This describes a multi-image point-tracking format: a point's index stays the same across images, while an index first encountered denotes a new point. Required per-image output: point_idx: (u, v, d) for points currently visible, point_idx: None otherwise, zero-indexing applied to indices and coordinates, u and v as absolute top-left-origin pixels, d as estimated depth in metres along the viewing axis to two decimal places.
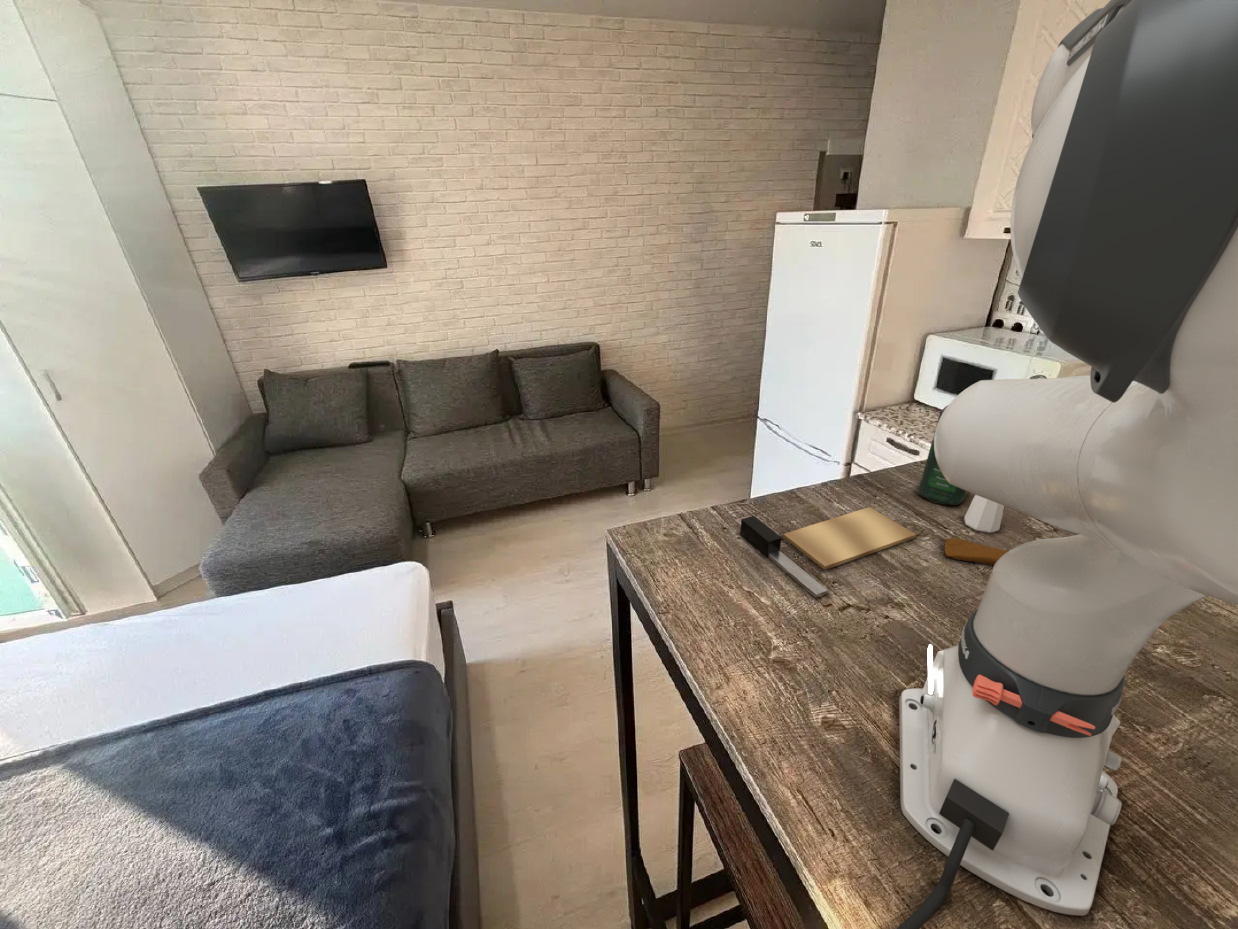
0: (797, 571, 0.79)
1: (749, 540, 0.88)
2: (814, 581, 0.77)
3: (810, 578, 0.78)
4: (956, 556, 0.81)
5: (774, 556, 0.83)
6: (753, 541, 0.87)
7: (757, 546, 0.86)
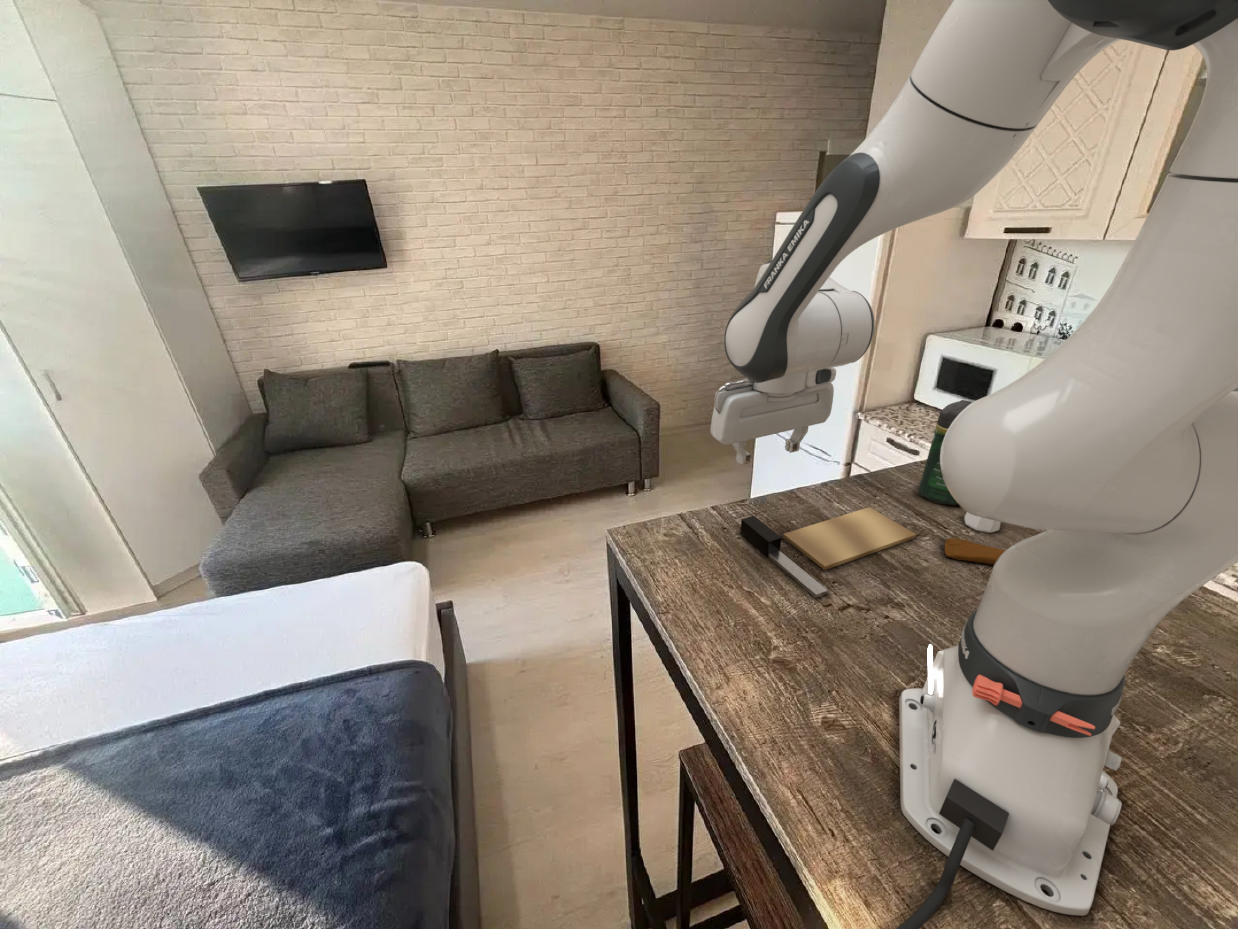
0: (797, 571, 0.79)
1: (749, 540, 0.88)
2: (814, 581, 0.77)
3: (810, 578, 0.78)
4: (956, 556, 0.81)
5: (774, 556, 0.83)
6: (753, 541, 0.87)
7: (757, 546, 0.86)
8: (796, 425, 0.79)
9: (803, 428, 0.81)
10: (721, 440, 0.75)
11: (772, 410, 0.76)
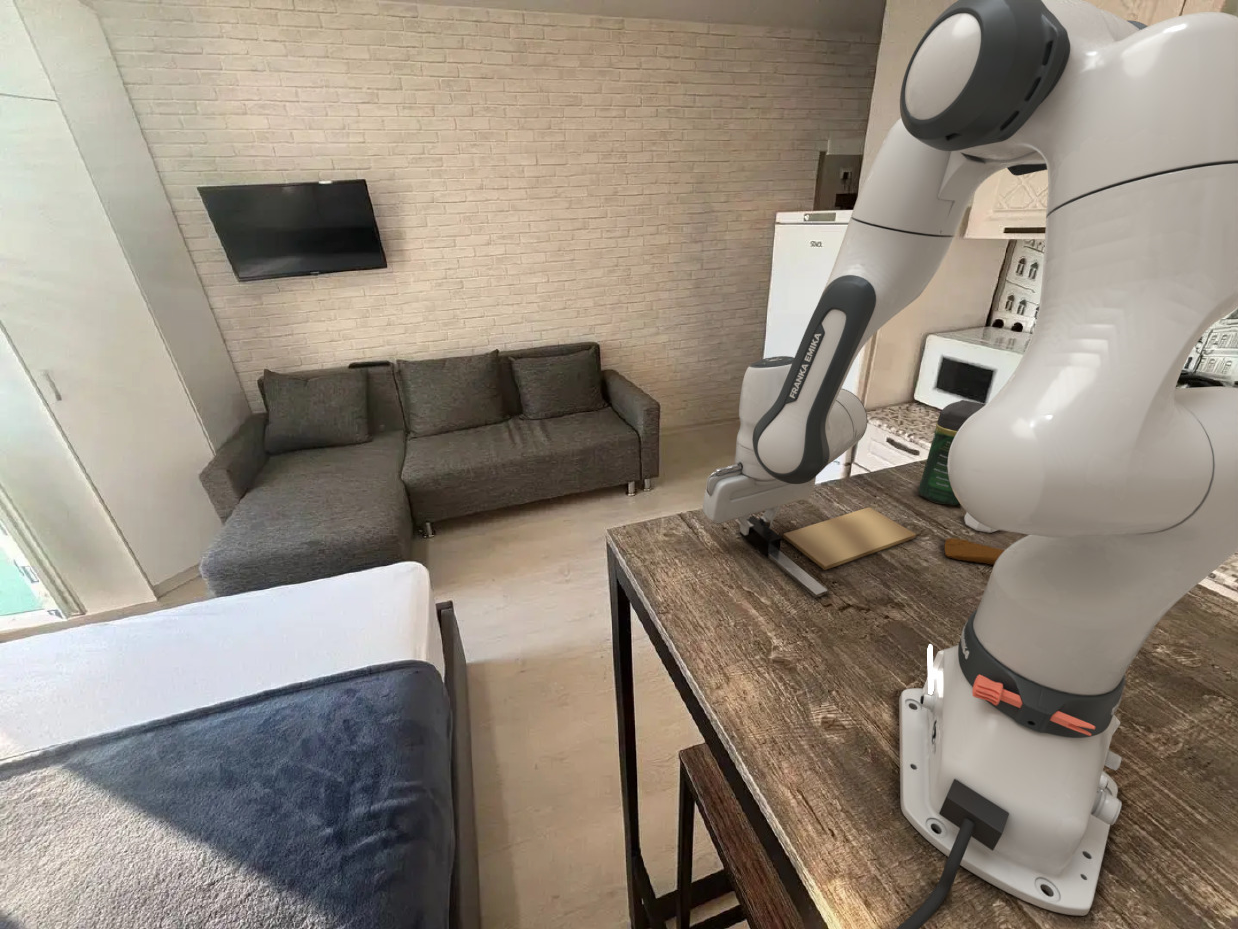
0: (797, 571, 0.79)
1: (749, 540, 0.88)
2: (814, 581, 0.77)
3: (810, 578, 0.78)
4: (956, 556, 0.81)
5: (774, 556, 0.83)
6: (753, 541, 0.87)
7: (757, 546, 0.86)
8: (782, 503, 0.85)
9: (775, 507, 0.86)
10: (712, 520, 0.80)
11: (760, 491, 0.82)
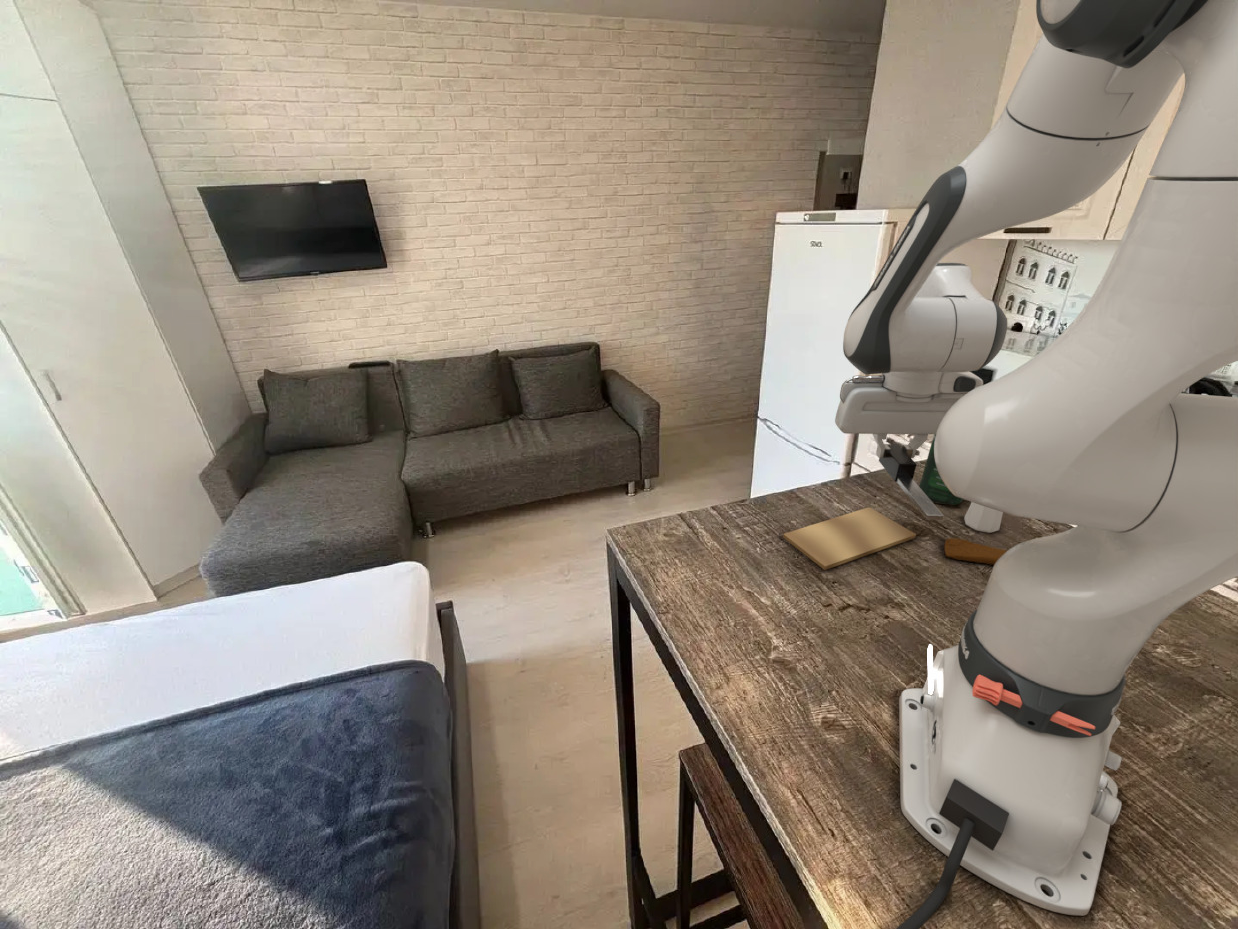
0: (919, 495, 0.75)
1: (884, 465, 0.85)
2: (933, 506, 0.73)
3: (930, 503, 0.73)
4: (956, 556, 0.81)
5: (902, 480, 0.79)
6: (887, 465, 0.84)
7: (889, 471, 0.83)
8: (928, 431, 0.80)
9: (921, 436, 0.81)
10: (840, 428, 0.81)
11: (902, 410, 0.79)
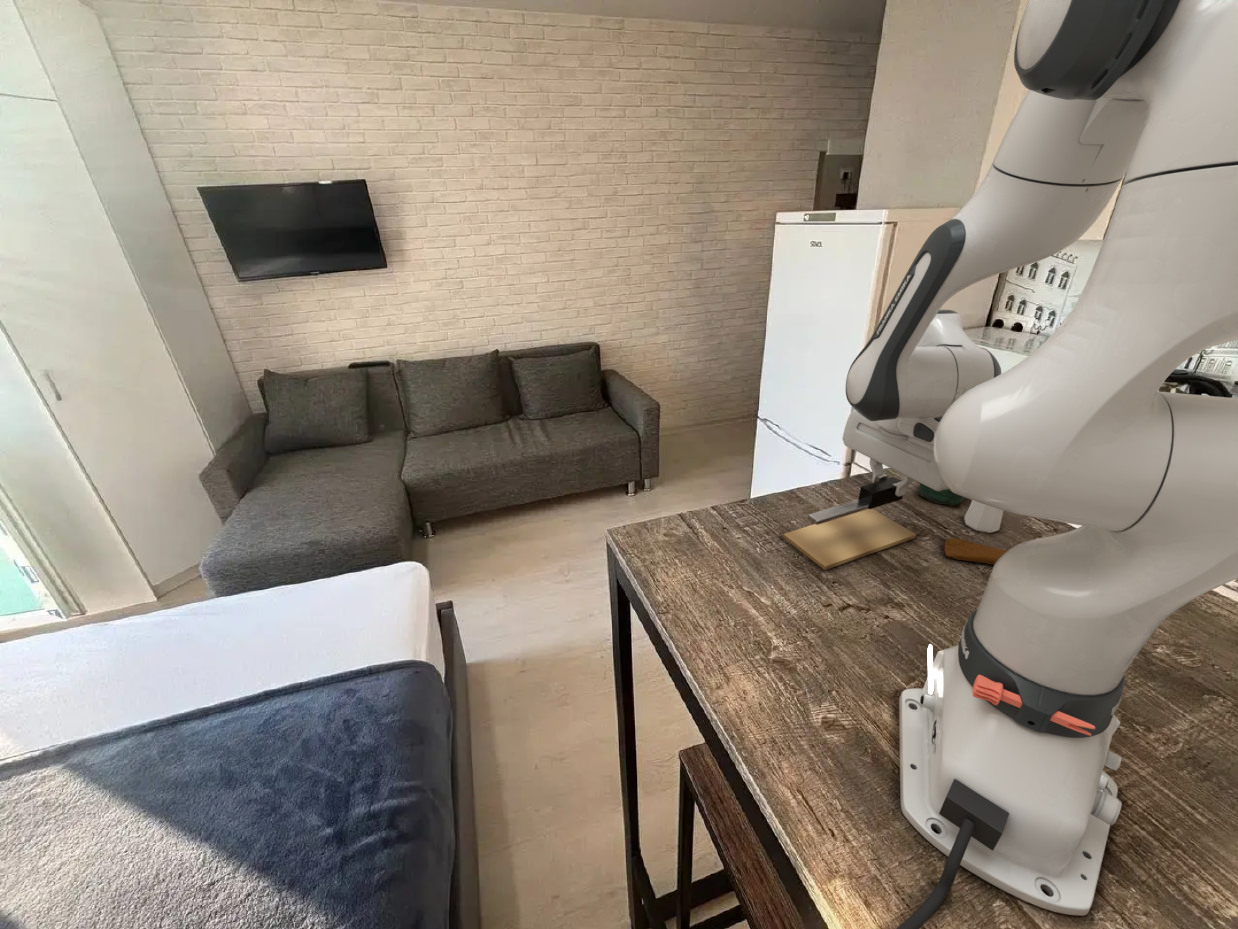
0: (838, 509, 0.84)
1: None
2: (827, 516, 0.82)
3: (830, 514, 0.83)
4: (956, 556, 0.81)
5: (856, 501, 0.86)
6: None
7: None
8: (903, 471, 0.81)
9: (902, 475, 0.82)
10: (843, 439, 0.92)
11: (885, 442, 0.83)
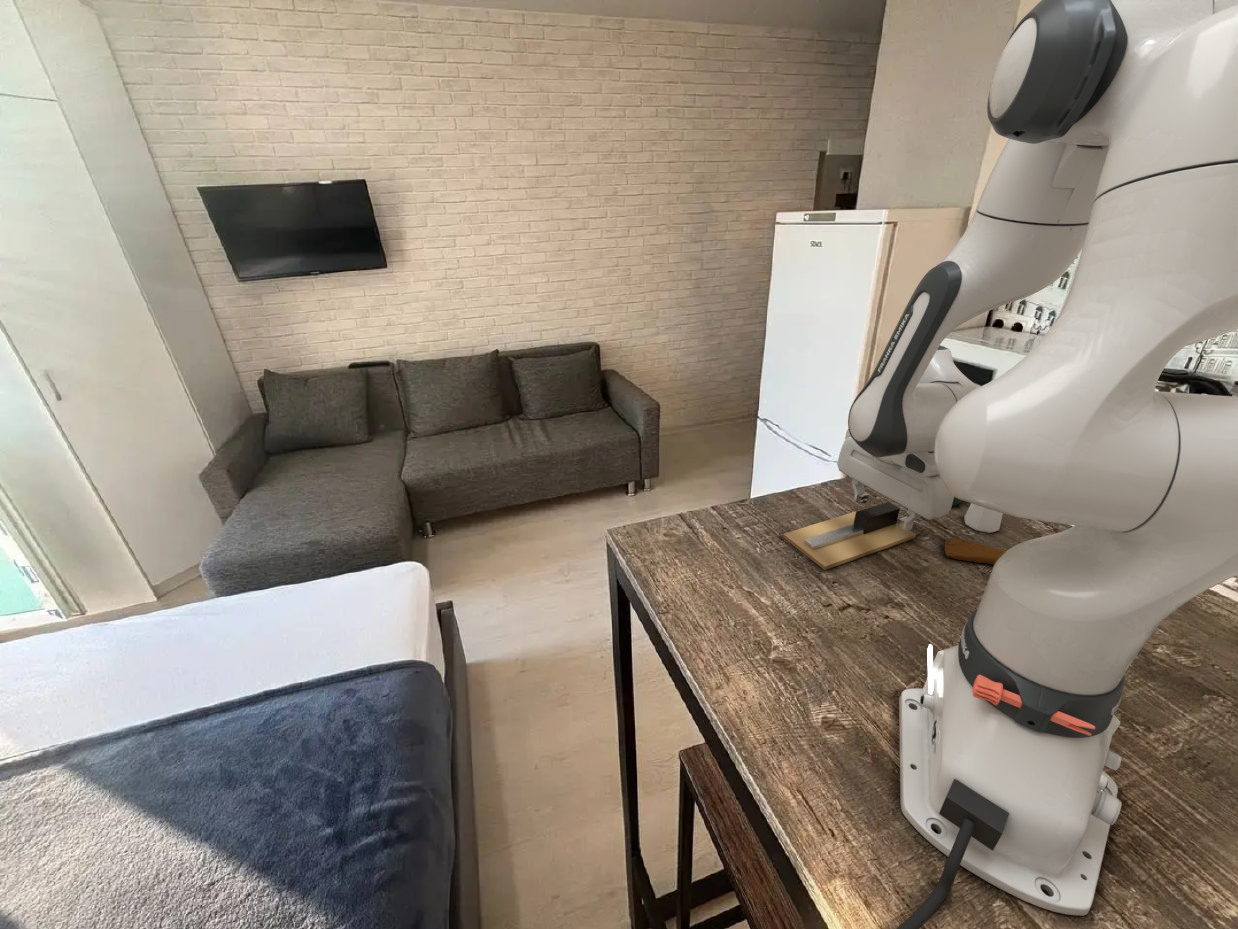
0: (833, 534, 0.86)
1: None
2: (823, 541, 0.85)
3: (826, 540, 0.85)
4: (956, 556, 0.81)
5: (851, 526, 0.88)
6: None
7: None
8: (896, 499, 0.83)
9: (910, 510, 0.82)
10: None
11: (879, 470, 0.86)
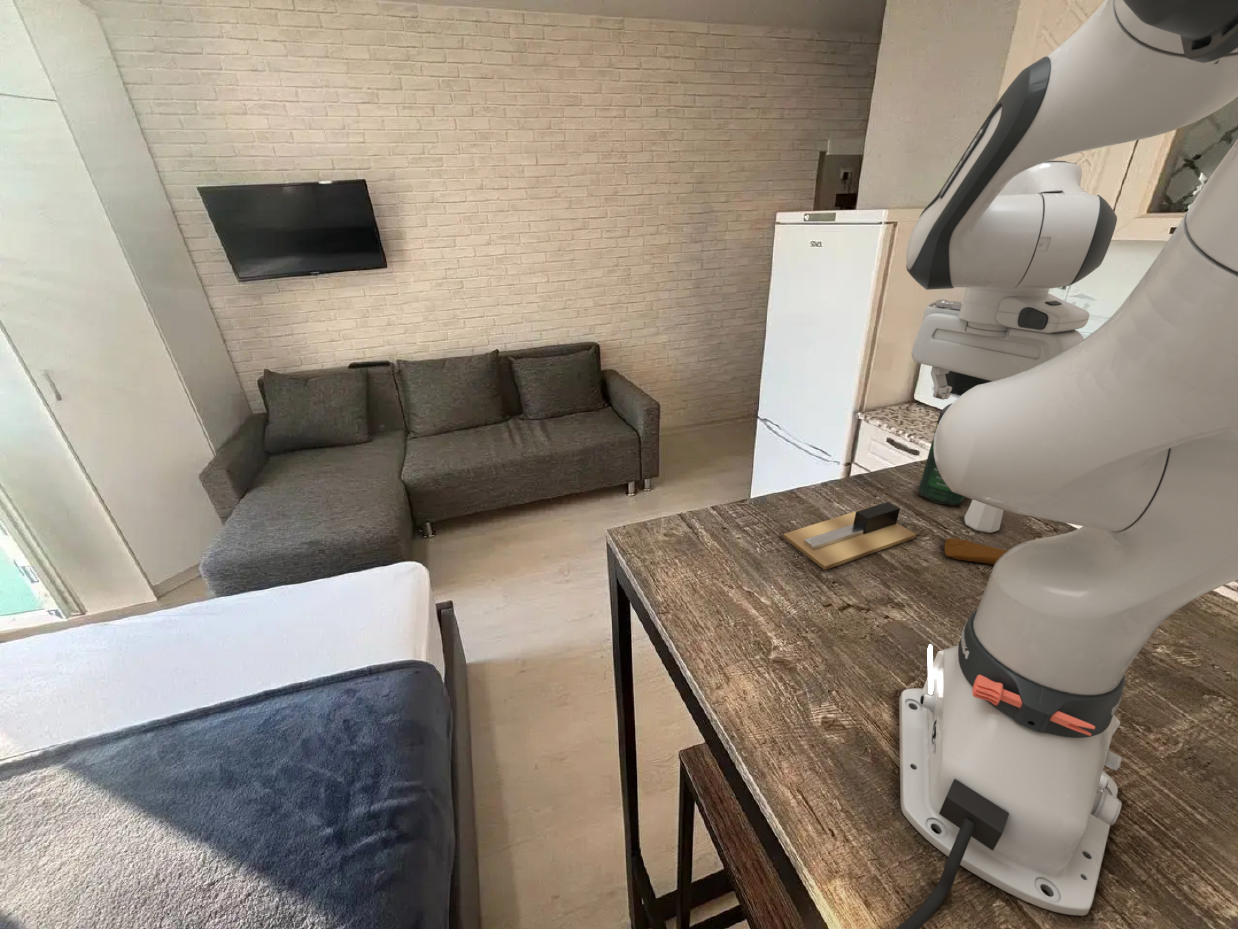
0: (833, 534, 0.86)
1: None
2: (823, 541, 0.85)
3: (826, 540, 0.85)
4: (956, 556, 0.81)
5: (851, 526, 0.88)
6: None
7: None
8: (998, 377, 0.67)
9: None
10: (912, 355, 0.78)
11: (972, 346, 0.69)
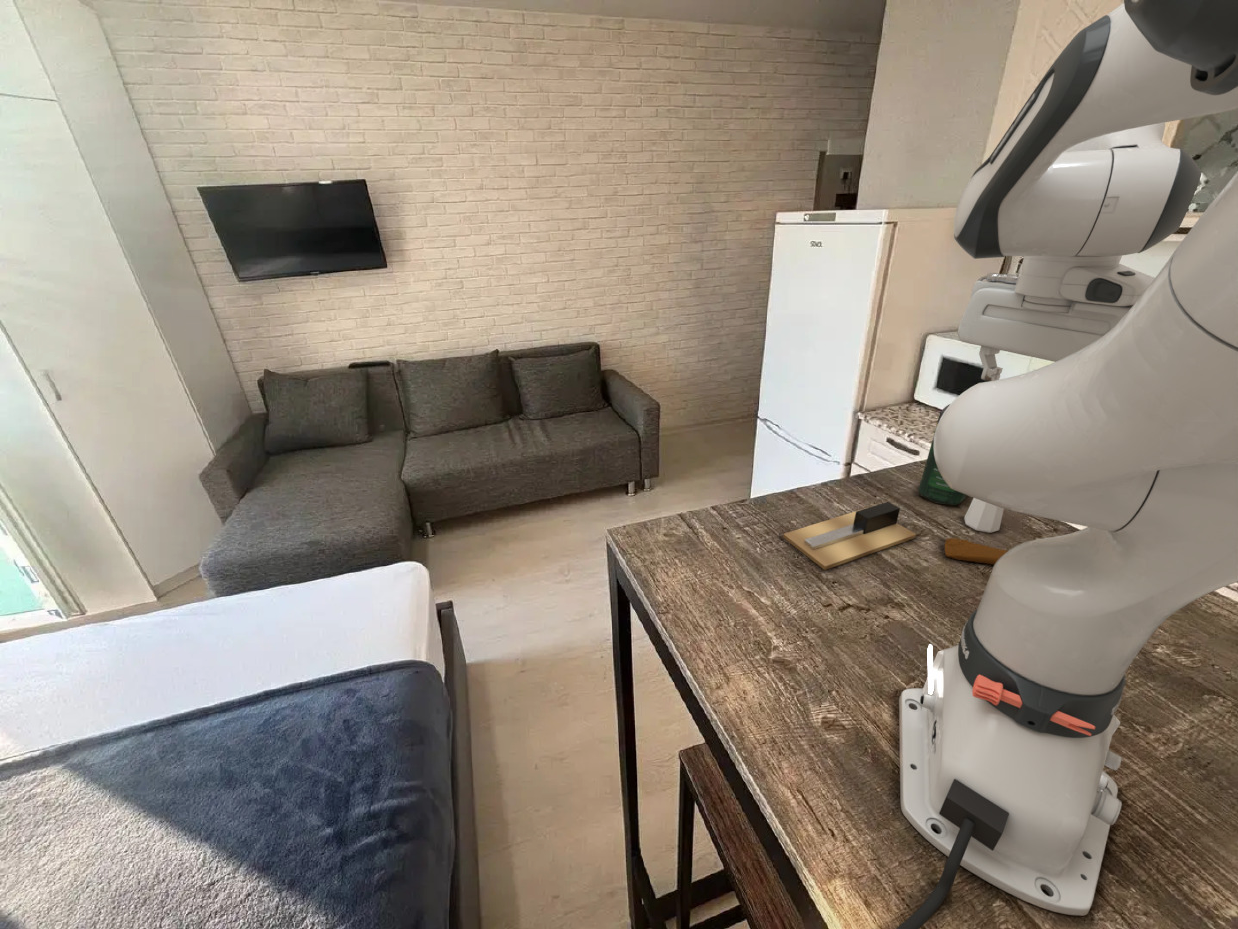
0: (833, 534, 0.86)
1: None
2: (823, 541, 0.85)
3: (826, 540, 0.85)
4: (956, 556, 0.81)
5: (851, 526, 0.88)
6: None
7: None
8: (1059, 357, 0.61)
9: None
10: (958, 334, 0.72)
11: (1029, 322, 0.64)
